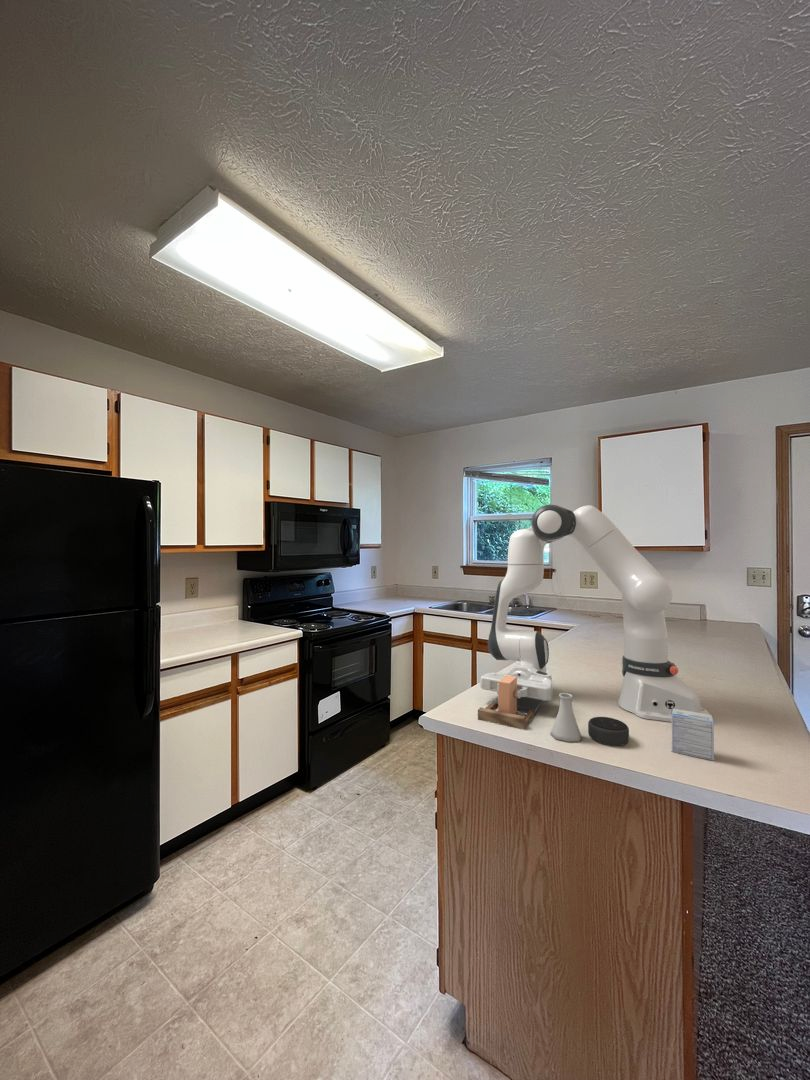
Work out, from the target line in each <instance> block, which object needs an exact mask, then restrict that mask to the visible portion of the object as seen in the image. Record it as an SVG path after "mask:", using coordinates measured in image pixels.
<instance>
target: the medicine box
mask: <svg viewBox="0 0 810 1080" xmlns="http://www.w3.org/2000/svg"><path fill="white" fill-rule="evenodd" d="M714 725H715V722H714V717H713V715H712V714H710V715H708V714H702V713H697V712H691V711H685V710H679V709H672V714H671V752H672V753H675V754H676V753H677V754H680V755H687V756H690V757H695V758H701V759H704V760H710V761H715V744H714V743H715V737H714V736H715V730H714V729H715V726H714Z"/></svg>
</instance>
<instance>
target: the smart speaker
mask: <svg viewBox="0 0 810 1080" xmlns="http://www.w3.org/2000/svg"><path fill="white" fill-rule="evenodd" d="M587 731H588V732H587V733H588V736H589V737H590V738H591V739H592V740H593V741H595V742H597V743H600V744H602V745H606V746H612V747H613V746H617V747H619V746H624V745H626V744H627V743H629V740H630V729H629V727H628V725H627V724H626V723H625V722H623V721H621V720H620V719H616V718H613V717H610V716H609V717H608V716H596V717H595V716H594V717H591V718H590V719H589V720H588V723H587Z"/></svg>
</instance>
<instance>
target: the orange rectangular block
mask: <svg viewBox="0 0 810 1080" xmlns="http://www.w3.org/2000/svg"><path fill="white" fill-rule="evenodd" d="M515 690H517V677H515V676H509V675H506V676H505V677H504V678H502V679H501V680H500V681H498V694H497V696H498V697H497V702H498V708H497V711H500V712H505V713H510V714H516V713H517V714H518V712H517V698H514V691H515ZM517 714H516V715H517Z"/></svg>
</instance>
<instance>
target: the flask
mask: <svg viewBox="0 0 810 1080" xmlns="http://www.w3.org/2000/svg"><path fill="white" fill-rule="evenodd" d="M558 697H559V699H560V700H559V707H558V712H557V715H556V718H555V720H554V723H553V726H552V728H551V731H550V735H551V737H553V738H554V739H555V740H559V741H564V742H570V743H571V742H573V743H574V742H580V741H581V740H582V737H583V736H582V734H581V731H580V728H579V726H578V723H577V720H576V717H575V713H574V711H573V704H572V702H573V701H572V699H573V698H574V696H573V694H570V693H567V692H562V693H561V692H560V693H559V694H558Z"/></svg>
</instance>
